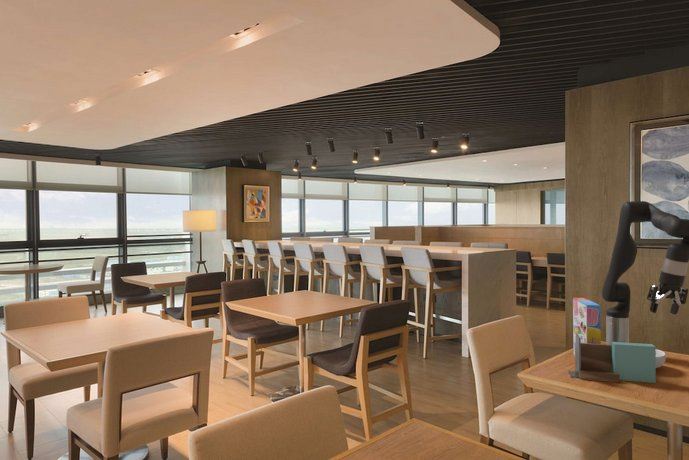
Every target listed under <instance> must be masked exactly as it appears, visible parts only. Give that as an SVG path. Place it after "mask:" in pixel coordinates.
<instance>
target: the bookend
mask: <svg viewBox="0 0 689 460" xmlns="http://www.w3.org/2000/svg"><path fill="white" fill-rule="evenodd" d="M579 370H581V338H580V337H579V335H578V334H576V371H575V370H567V372H568V375H569V376H570V378H577V379H580V378H579Z"/></svg>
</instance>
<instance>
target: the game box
mask: <svg viewBox="0 0 689 460" xmlns="http://www.w3.org/2000/svg"><path fill="white" fill-rule="evenodd" d="M572 319H573V320H572V325H573V327H572V331H573V333H572V334H573V335H572V337H573V338H572V339H573V340H572V341H573V356H574V357H575V343H576V334H578V335H579V337H580V338H581V343H591V344H602V342H601V341H602V340H601V339H602V337H601V336H602V334H601V333H602V331H601V326H602V325H601V324H602V323H601V322H602V321H601V304H598V303H596V302H594V301H592V300H590V299H588V298H586V297H573V298H572Z"/></svg>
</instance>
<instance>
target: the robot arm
mask: <svg viewBox="0 0 689 460" xmlns="http://www.w3.org/2000/svg"><path fill="white" fill-rule="evenodd" d="M619 212H620V213H619V219H618V227H617V234H616V237H615V242H614V246H613V248H612V254H611V257H610V262H609V268H608V272H607V273H606V277H605V279H604V283H603V285H602V289H601V295H602V298H603V300H604V301H605V302H608V303H617V304H616V305H614V306H612V307H610V308H607V309H606V311H605V312H606V313H605V319H606V320H605V326H606V329H605V331H606V332H605V333H606V335H605V336H606V337H605V340H606V341H605V342H606V343H605V344H608V345H612V342H624V343H630V315H629V314H630V311H631V288H630V285H629V284H628V283H627V282H618V281H619V279H620V278H621V277H622V276H623V275H624V274H625V273H626V272H627V271H628V270H629V269H630V268H632V266H633V265H634V263H636V257H637V254H638V246H637V243H636V242H635V240H634V238H633V236H632V234H631V233H632V232H631V226H632V224H633V223H636V224H638V223H646V222H649V223H651V225H653V227H654V228H656V229H658V230H660V231H663V232H664V233H666V235H668V236H671V237H673V238H678V239H679V238H680V239H681V240H680V241H679V242H676V243H670V244H669V245H668V246H667V250H666V255H665V258H664V260H663V263H662V266H661V270H660V273H659V279H658V282H659V285H655V284H650V287H649V290H648V294H647V296H646V300H649V301H650V302H651V303H650V305H649V306H650V307H649V312H651V313H653V314H656V313H657V311H658V307H659V303H660V302H661V301H662V300H663V301H664V300H665V299H670V300H671V301H672V304H671V307H670V312H669V313H670V314H672V315H677V314H678V312H679V309H680V306H681V305H685V304H686V303H687V299H688V293H689V289H688V288H685V287H683V286H684V283H685V279H686V276H687V272H688V268H689V267H688V266H689V219H687V218H680V216H677V215H676V214H673V213H670V212H666V211H664V210H661V209H660V208H658V207H656V206H655V205H653V204H652V203H650V202H648V201H645V200H640V201H639V200H638V201H636V200H635V201H625V202H624V203H622V206H621V208H620V211H619Z"/></svg>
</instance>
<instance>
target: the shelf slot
mask: <svg viewBox="0 0 689 460" xmlns="http://www.w3.org/2000/svg"><path fill="white" fill-rule="evenodd" d="M574 365H575V367H574V369H575V370H574V371H576V343H575V356H574ZM578 379H579V380H585V381H586V380H588V381H589V380H590V381H601V382H611V383H612V382H613V383H620V381H621V380H620V375H619V373H612V345H608V344H606V343H605V344H604V343H601V344H591V343H581V370H579V378H578Z"/></svg>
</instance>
